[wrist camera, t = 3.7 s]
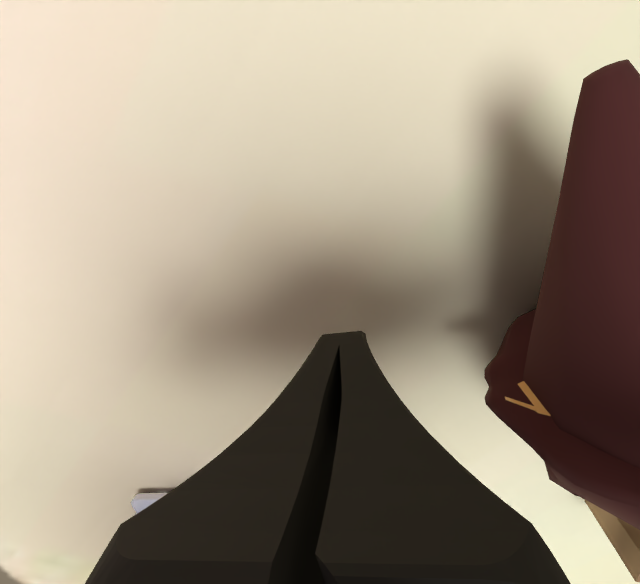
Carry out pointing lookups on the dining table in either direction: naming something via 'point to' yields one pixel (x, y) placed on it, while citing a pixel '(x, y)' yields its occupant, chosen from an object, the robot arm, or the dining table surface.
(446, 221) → the dining table surface
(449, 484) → the robot arm
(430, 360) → the dining table surface
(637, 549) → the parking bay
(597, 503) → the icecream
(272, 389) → the dining table surface
